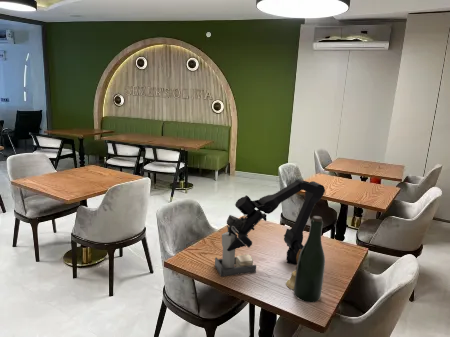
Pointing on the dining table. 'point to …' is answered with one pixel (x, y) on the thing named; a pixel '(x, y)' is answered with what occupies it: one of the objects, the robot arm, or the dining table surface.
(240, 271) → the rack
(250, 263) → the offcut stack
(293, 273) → the hand bell
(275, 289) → the dining table surface
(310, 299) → the beer bottle
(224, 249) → the vintage mobile phone
